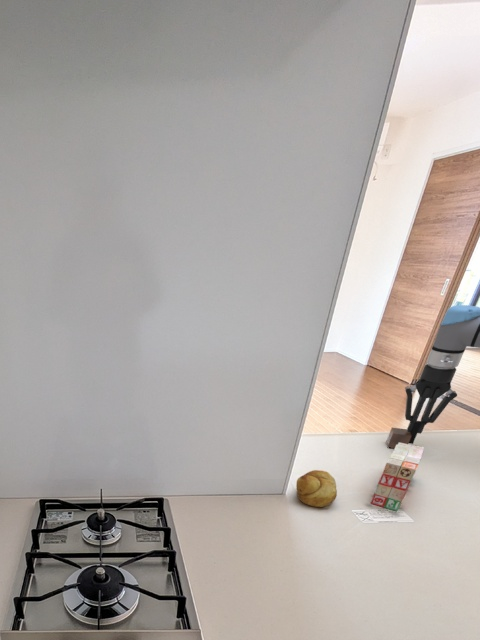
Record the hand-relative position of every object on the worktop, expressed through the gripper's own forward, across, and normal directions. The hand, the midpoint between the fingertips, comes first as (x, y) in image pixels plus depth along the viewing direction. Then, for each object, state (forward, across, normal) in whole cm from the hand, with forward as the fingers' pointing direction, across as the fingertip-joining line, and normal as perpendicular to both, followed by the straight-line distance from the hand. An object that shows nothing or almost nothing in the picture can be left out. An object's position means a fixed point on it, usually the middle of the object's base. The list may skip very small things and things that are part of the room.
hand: (409, 441), depth 137 cm
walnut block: (+2, -3, 0) cm, 4 cm away
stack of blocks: (+2, -6, -30) cm, 31 cm away
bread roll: (+2, -25, -42) cm, 49 cm away
